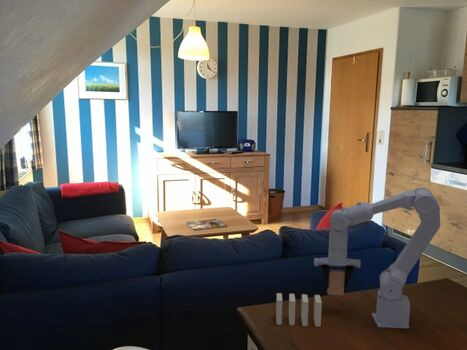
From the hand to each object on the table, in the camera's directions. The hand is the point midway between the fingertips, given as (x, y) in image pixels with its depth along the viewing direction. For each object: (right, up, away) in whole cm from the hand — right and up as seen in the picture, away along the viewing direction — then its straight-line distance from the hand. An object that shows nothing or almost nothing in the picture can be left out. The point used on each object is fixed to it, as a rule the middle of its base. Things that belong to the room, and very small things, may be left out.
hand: (335, 286), depth 131 cm
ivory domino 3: (-11, -10, -4) cm, 16 cm away
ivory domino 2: (-15, -10, -4) cm, 18 cm away
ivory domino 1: (-19, -10, -4) cm, 22 cm away
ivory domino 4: (-7, -10, -5) cm, 13 cm away
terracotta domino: (0, -2, 0) cm, 2 cm away
